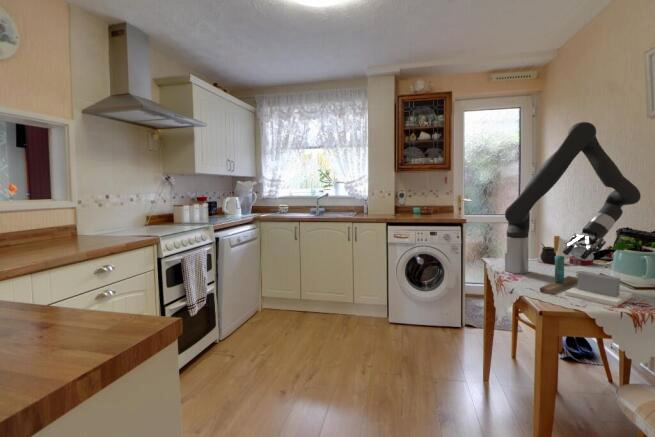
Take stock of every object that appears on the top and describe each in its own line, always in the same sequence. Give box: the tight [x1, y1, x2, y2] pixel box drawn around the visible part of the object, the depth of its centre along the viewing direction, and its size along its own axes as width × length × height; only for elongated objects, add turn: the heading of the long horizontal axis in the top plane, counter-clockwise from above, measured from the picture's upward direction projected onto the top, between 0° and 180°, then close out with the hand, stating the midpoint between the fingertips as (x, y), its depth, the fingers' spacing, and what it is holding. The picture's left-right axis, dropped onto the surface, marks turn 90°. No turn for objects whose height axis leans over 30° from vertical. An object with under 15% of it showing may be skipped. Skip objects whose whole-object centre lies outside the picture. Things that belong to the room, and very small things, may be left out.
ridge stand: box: [564, 271, 633, 307], centre depth 127 cm, size 16×14×8 cm
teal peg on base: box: [539, 255, 578, 295], centre depth 140 cm, size 4×24×13 cm, turn 122°
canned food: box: [568, 246, 595, 267], centre depth 172 cm, size 11×10×10 cm
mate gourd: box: [539, 242, 557, 264], centre depth 178 cm, size 7×8×10 cm
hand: (573, 255), depth 140 cm, fingers open, 8 cm apart
